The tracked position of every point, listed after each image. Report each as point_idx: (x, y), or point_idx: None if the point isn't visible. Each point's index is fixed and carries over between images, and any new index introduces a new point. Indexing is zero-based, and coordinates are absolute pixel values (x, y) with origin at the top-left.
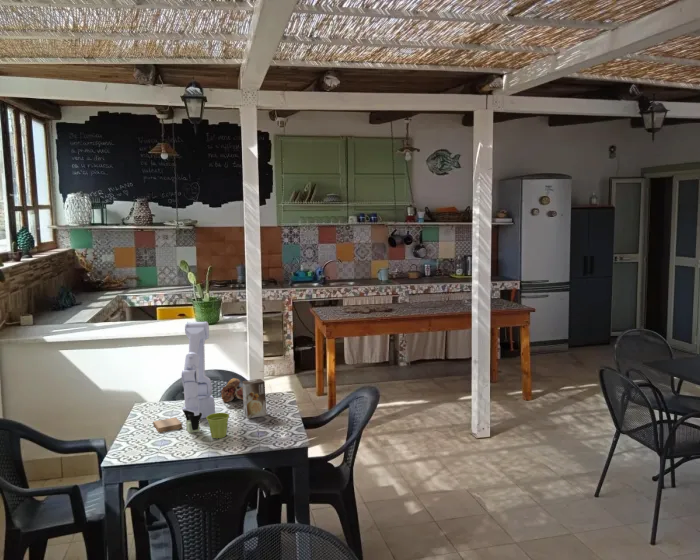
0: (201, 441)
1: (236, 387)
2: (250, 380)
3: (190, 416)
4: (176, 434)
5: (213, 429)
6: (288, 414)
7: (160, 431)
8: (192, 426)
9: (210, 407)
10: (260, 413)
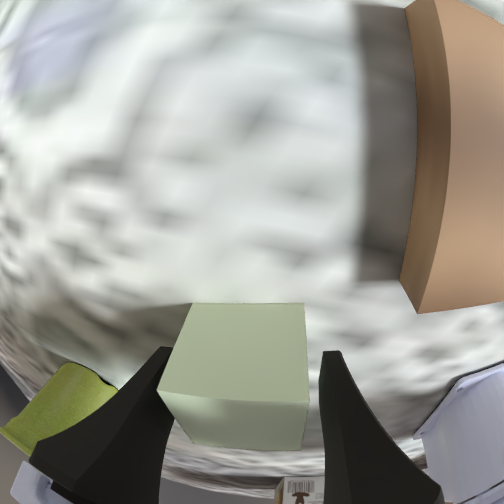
0: (30, 306)
1: None
2: None
3: (33, 455)
4: (214, 172)
5: (35, 396)
6: (251, 494)
7: (412, 23)
8: (136, 374)
9: (437, 463)
10: (276, 493)
